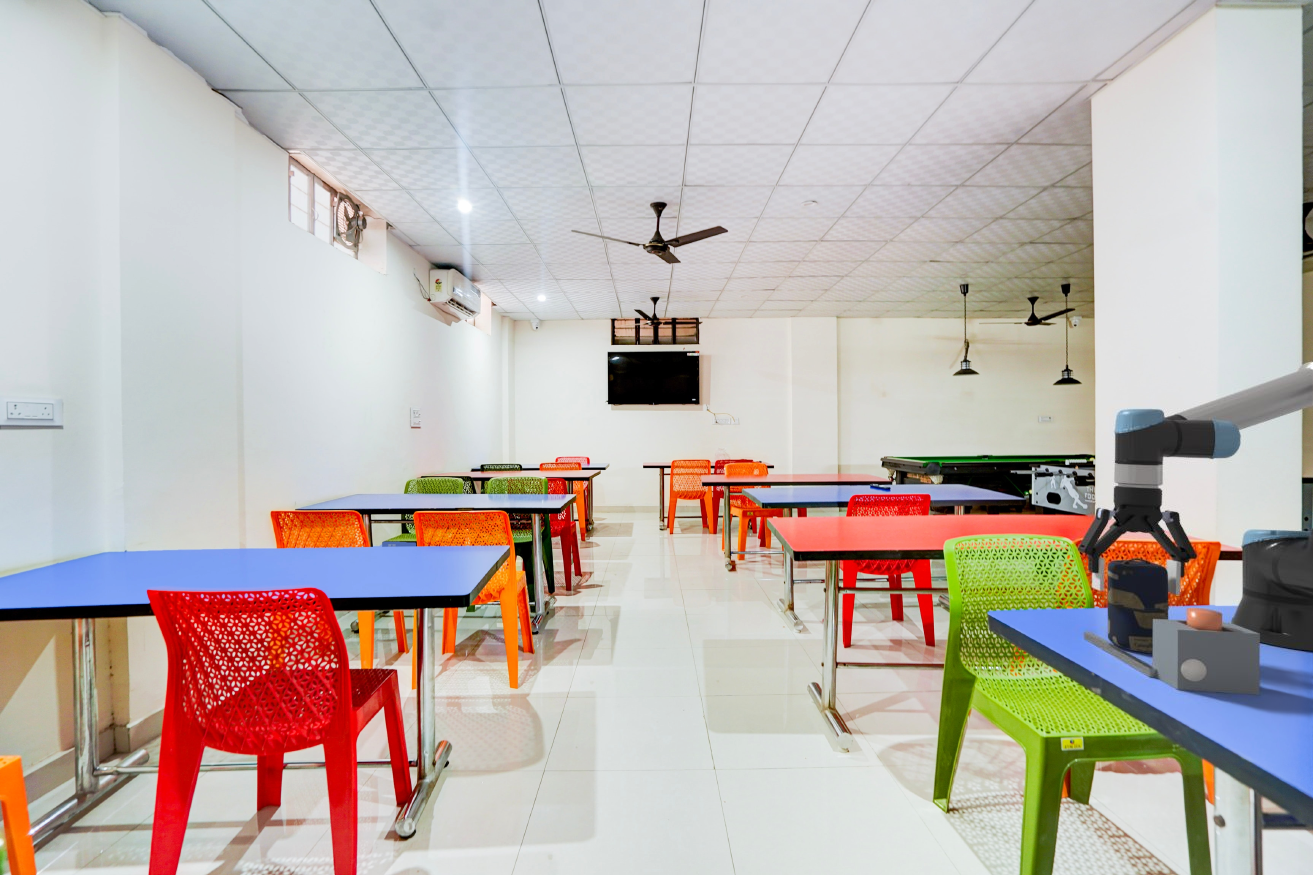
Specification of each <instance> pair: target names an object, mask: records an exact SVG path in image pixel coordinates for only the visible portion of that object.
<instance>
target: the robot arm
mask: <svg viewBox="0 0 1313 875" xmlns="http://www.w3.org/2000/svg"><path fill="white" fill-rule="evenodd" d="M1310 407H1313V360H1311V361H1309V362H1305V363H1304V364H1303V363H1302V364H1301V365H1300V366H1299V368H1298V370H1297V371H1294V372H1291V373H1289V374H1286V375H1283V376H1280V377H1277V378H1274V379H1271V380H1268V381H1266V382H1263V383H1261V384H1258V385H1255V386H1252V387H1248V388H1247V389H1243V390H1241V391H1238V392H1234V393H1232V394H1229V395H1226V396H1223V397H1220V398H1218V399H1215V400H1211V401H1209V402H1206V403H1203V404H1200V405H1198V406H1194V407H1191V408H1189V409H1185V410H1183V411H1180V412H1177V413H1175V414H1173V415H1169V416H1166V417H1165V412H1164V410H1162V409H1160V408H1159V409H1158V408H1156V409H1155V408H1132V409H1131V408H1129V409H1128V408H1127V409H1122V410H1120V411H1118V412H1117V414H1116V416H1115V418H1116V419H1115V425H1114V427H1115V428H1114V430H1113V432H1114V472H1113V473H1114V478H1113V481H1114V483H1115V484H1117V485H1115V486H1113V504H1114V507H1113V509H1107V508H1102V507H1097V508H1096V510H1095V517H1094V519H1093V521H1092V522H1091V525H1090V526H1089V528H1088V529H1087V532H1086V533H1085V535H1084V536H1083V538H1082V540H1081V542H1080V543H1079V545H1078V547H1077V551H1078V552H1080V553H1083V554H1085V555H1087V558H1088V559H1087V560H1088V561H1087V563H1088V564H1087V570H1088V571H1089V572H1090V573H1091V575H1092V576H1091V588H1093V589H1095V590H1097V591H1100V592H1104V591H1105V569H1106V566H1105V565H1106V564H1105V561H1106V560H1105V559H1106V558H1104V557H1101V556H1102V555H1103V554H1104V553H1105V552H1106V551H1107V550H1108V549H1109V548H1110V547H1111V546H1112V545H1113V544H1114V543H1115V542H1116V541H1117V540H1118V539H1119V538H1120V537H1121V536H1122V535H1124V534H1126V533H1127V532H1128V533H1133V534H1134V533H1143V534H1149V535H1151V537H1152V538H1153V539H1154V540H1155V541H1156V542H1157V543H1158V544H1159V546H1160V547H1161V548H1162V549H1163V550H1164V551H1165V552H1166V553H1167V555H1168V556H1169V557H1170V558H1171V559H1166V569H1167V572H1168V594H1172V595H1174V596H1180V595H1181V578H1182V579H1184V577H1185V572H1186V571H1185V570H1186V566H1185V565H1186V563H1187V564H1188V563H1189V562H1190V561H1191V560H1196V559H1197V558H1198V553H1197V552H1196V551H1195V549H1194V546H1193V544H1192V543H1191V541H1190V539H1189V537H1188V535H1187V533H1186V532H1185V529H1184V528H1183V525H1182V524H1181V518H1180V513H1179V512H1178V511H1174V510H1169V509H1168V510H1165V511H1161V507H1162V505H1163V490H1162V488H1160V487H1159V486H1162V485H1164V484H1163V483H1164V482H1163V480H1164V478H1163V476H1164V474H1163V473H1164V472H1163V469H1164V468H1163V465H1164V458H1184V459H1185V458H1186V459H1189V458H1190V459H1209V460H1214V459H1228V458H1231V457H1233V456H1234V455H1235V454H1237V452H1238V451H1239V449H1240V447H1241V442H1242V441H1241V435H1242V434H1241V432H1240V431H1241V430H1244V429H1247V428H1250V427H1252V426H1256V425H1258V424H1261V423H1266V422H1268V421H1271V420H1274V419H1276V418H1280V417H1283V416H1286V415H1288V414H1292V413H1295V412H1298V411H1301V410H1304V409H1306V408H1310ZM1112 518H1113V519H1114V520H1115V521H1114V522H1113V523H1112V524H1111V525H1110V526H1109V528H1108V530H1106V526H1108V523H1109V521H1111V520H1112ZM1161 520H1162V521H1163V522H1164V523H1165V524H1164V525H1165V526H1166V528H1167V530H1168V531H1169V534H1170V536H1171V538H1172V539H1173V541H1174V542H1173V541H1172V540H1171V538H1170V537H1169V536H1168V535H1167V534H1166V532H1165V530H1164V529H1163V528H1162V527H1161V526H1160V524H1159V523H1160V522H1161ZM1104 530H1106V532H1105V533H1103V532H1104ZM1102 534H1103V535H1102ZM1101 535H1102V536H1101ZM1241 542H1242V543H1241V545H1240V546H1241V550H1242V551H1241V552H1242V554H1241V555H1242V556H1241V557H1242V560H1241V561H1242V574H1241V575H1242V577H1241V578H1242V594H1241V595H1242V596H1241V599H1240V602H1239V603H1238V605H1237V608H1236V610H1235V613H1234V615H1233V617H1232V618H1231V619H1230V620H1231V621H1230V623H1232V624H1235V625H1238V626H1240V627H1243V628H1245V629H1248V630H1251V631H1253V632H1256V633H1259V634H1260V643H1263V644H1267V645H1271V646H1274V647H1275V646H1276V647H1282V648H1287V649H1288V648H1289V649H1293V650H1294V649H1295V650H1299V651H1301V650H1302V651H1312V652H1313V527H1312V528H1311V531H1310V530H1307V531H1306V530H1287V529H1286V530H1283V529H1282V530H1280V529H1275V530H1274V529H1248V530H1246V531H1245V532H1244V534H1243V537H1242V541H1241Z"/></svg>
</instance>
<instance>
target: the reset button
mask: <svg viewBox="0 0 1313 875" xmlns="http://www.w3.org/2000/svg"><path fill="white" fill-rule="evenodd" d="M1186 620H1187V626H1190V627H1192V628H1194V629H1197V630H1203V631H1222V622H1223V613H1221V612H1220V611H1216V610H1213V609H1209V608H1208V609H1207V608H1200V607H1187V608H1186Z"/></svg>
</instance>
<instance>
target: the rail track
mask: <svg viewBox="0 0 1313 875" xmlns="http://www.w3.org/2000/svg"><path fill="white" fill-rule="evenodd" d="M1083 639H1084V640H1085V641H1087V642H1088V643H1090V644H1092V645H1094V646H1096V647H1097V648H1099V649H1101V650H1102V651H1104V652H1106V653H1108V654H1109V655H1111V656H1113V657H1114V658H1116V659H1117V660H1119V661H1121V662H1123V663H1124V664H1126V665H1128V666H1130V667H1132V668H1133V669H1135V670H1136V671H1138V672H1140V673H1142V674H1144V675H1145V676H1147V677H1149V678H1156V679H1158V678H1157V669H1156V668H1154V667H1153V665H1150V664H1149V663H1147V662H1145V661H1143V660H1141V659H1140V658H1138V657H1136V656H1134V655H1133V654H1131V653H1130V652H1127V651H1125V650H1123V649H1122V648H1121V647H1119V646H1117V645H1115V644H1113V643H1112V642H1109V640H1108V641H1107V640H1106V639H1104V638H1102V637H1100V636H1098V635H1096V634H1095V633H1093V632H1091V631H1083Z"/></svg>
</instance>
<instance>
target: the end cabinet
mask: <svg viewBox="0 0 1313 875" xmlns="http://www.w3.org/2000/svg"><path fill="white" fill-rule="evenodd" d="M1260 651H1261V642H1260V634H1259V633H1256V632H1253V631H1251V630H1248V629H1245V628H1243V627H1240V626H1238V625H1235V624H1232V623H1231V622H1230V621H1229V622H1227V621H1222V631H1203V630H1197V629H1194V628H1192V627H1190V626H1187V619H1186V620H1184V619H1182V620H1181V619H1168V620H1166V619H1153V653H1152V666H1153V667H1154V668H1156V669H1157V678H1156V679H1158V680H1160V681H1162V682H1163V683H1166V685H1169V686H1170V687H1171V688H1173V689H1175V690H1179V691H1194V692H1195V691H1196V692H1206V693H1207V692H1210V693H1222V694H1223V693H1225V694H1238V695H1239V694H1240V695H1241V694H1243V695H1257V696H1259V695H1260V683H1261V682H1260V678H1261V677H1260V676H1261V675H1260V673H1261V672H1260V664H1261V661H1260V660H1261V659H1260V657H1261V652H1260Z"/></svg>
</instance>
